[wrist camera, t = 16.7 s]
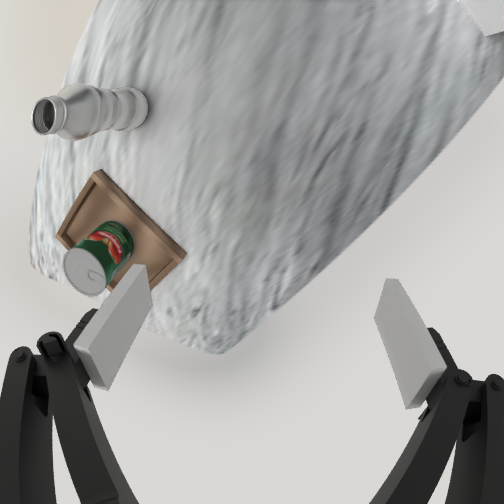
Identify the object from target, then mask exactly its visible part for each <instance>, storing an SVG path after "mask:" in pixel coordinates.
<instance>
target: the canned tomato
mask: <svg viewBox="0 0 504 504" xmlns="http://www.w3.org/2000/svg"><path fill="white" fill-rule="evenodd" d="M134 252H135V240H134V237H133V234H132V233H131V231H130V230H129V228H128V227H127V226H126V225H124V224H123V223H121V222H119V221H116V220H108V221H105V222H103V223H102V224H101V225H100V226H98V227H97V228H96V229H94V230H93V231H92V232H91V233H89V234H88V235H87V236H86V237H84V238H83V239H82V240H81V241H80V242H79V243H77V244H76V245H75V246H73V247H72V248H71V249H70V250H69V251H67V252H66V254H65V255H64V258H63V269H64V273H65V276H66V278H67V279H68V281H69V282H70V284H71V285H72V286H73V287H74V288H75V289H76V290H77V291H79V292H80V293H82V294H84V295H87V296H98V295H99V294H101V293H102V292H103V291H104V289H105V288H106V287H107V286H108V284H109V283H110V282H111V280H113V278H114V277H115V276H116V275H117V273H118V272H119V271H120V270H121V269H122V267H123V266H124V265H125V264H126V263H127V262H128V260H129V259H130V258H131V257H132V256H133V254H134Z"/></svg>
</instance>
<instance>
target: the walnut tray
mask: <svg viewBox="0 0 504 504" xmlns="http://www.w3.org/2000/svg"><path fill="white" fill-rule="evenodd" d="M108 220H116V221H119V222H121V223H123V224H124V225H126V226H127V227H128V228H129V230H130V231H131V233H132V234H133V237H134V240H135V252H134V254H133V256H132V257H131V258H130V259H129V260H128V262H127V263H126V264H125V265H124V266H123V267H122V269H121V270H120V271H119V272H118V273H117V275H116V276H115V277H114V278H113V280H111V282H110V283H109V284H108V286H107V287H106V288H107V289H108V290H109V291H110V292H112V291H113V289H114V288H115V287H116V285H117V284H118V283H119V282H120V280H121V279H122V278H123V276H124V275H125V274H126V273H127V271H128V270H129V269H130V268H131V266H132V265H133V264H141V265H146V270H147V276H148V282H149V287H150V290H152V289H153V288H154V287H155V286H156V285H157V284H158V283H159V282H160V281H161V280H162V279H163V278H164V277H165V276H166V275H167V274H168V273H169V272H170V271H171V270H172V269H173V268H175V267H176V266H177V265H178V264H179V263H180V262H181V261H182V260H183V258H184V256H185V255H186V252H185V251H184V250H183V249H182V248H181V247H180V246H179V245H178V244H177V243H176V242H175V241H174V240H173V239H172V238H170V237H169V236H168V235H167V234H166V233H165V232H164V231H163V230H162V229H161V228H160V227H159V226H158V225H157V224H156V223H155V222H154V221H153V220H152V219H151V218H150V217H149V216H148V215H147V214H146V213H145V212H144V211H143V210H142V209H141V208H140V207H139V206H137V205H136V204H135V203H134V202H133V201H132V200H131V199H130V198H129V197H128V196H127V195H126V194H125V193H124V192H123V191H122V190H121V189H120V188H119V187H118V185H117V184H116V183H115V182H114V181H113V180H112V179H111V178H110V177H109V176H108V175H107V174H106V173H105V172H104V171H103V170H102V169H100V170H98V171H96V172H93V174H92V175H91V177H90V178H89V180H88V181H87V183H86V184H85V186H84V188H83V189H82V191H81V192H80V194H79V196H78V197H77V199H76V201H75V202H74V204H73V206H72V207H71V209H70V211H69V212H68V214H67V216H66V218H65V220H64V221H63V223H62V225H61V227H60V229H59V230H58V232H57V234H56V236H55V237H56V238H57V239H58V240H59V241H60V242H61V243H62V245H63V246H64V247H65V248H66V249H67V250H68V251H69V250H70V249H71V248H72V247H73V246H75V245H76V244H77V243H79V242H80V241H81V240H82V239H83V238H84V237H86V236H87V235H88V234H89V233H91V232H92V231H93V230H94V229H96V228H97V227H98V226H100V225H101V224H102V223H103V222H105V221H108Z"/></svg>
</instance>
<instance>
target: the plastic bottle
mask: <svg viewBox="0 0 504 504" xmlns="http://www.w3.org/2000/svg"><path fill="white" fill-rule="evenodd" d="M147 113H148V102H147V99H146V98H145V96H144V95H143V94H142V93H141V92H140V91H138V90H137V89H134V88H132V87H123V88H118V89H112V90H107V89H100V88H97V87H93V86H90V85H87V84H82V83H75V84H72V85H69V86H67V87H65V88H63V89H62V90H61V91H60V92H59V93H58V94H57V95H56V96H50V97H45V98H42V99H40V100H39V101H38V102H37V103H36V104H35V106H34V108H33V110H32V116H31V121H32V126H33V128H34V130H35V131H36V132H37V133H38V134H40V135H47V134H55V133H56V134H57V135H59V136H60V137H61V138H63V139H67V140H71V141H77V140H81V139H83V138H86V137H88V136H90V135H93V134H95V133H97V132H100V131H104V130H117V131H130V130H132V129H134V128H136V127H138V126H139V125H141V124H142V123H143V121H144V120H145V118H146V116H147Z"/></svg>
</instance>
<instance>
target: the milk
mask: <svg viewBox="0 0 504 504" xmlns="http://www.w3.org/2000/svg"><path fill="white" fill-rule="evenodd" d="M457 1H458V2H459V3H460V5H461V6H462V7H463V8H464V9H465V11H466V12H467V13H468V14H469V16H470V17H471V18H472V19H473V21H474V22H475V23H476V25H477V26H478V27H479V29H480V30H481V31H482V33H483V34H484V36H488V35H492V34H495V33H499V32H503V31H504V0H457Z"/></svg>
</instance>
